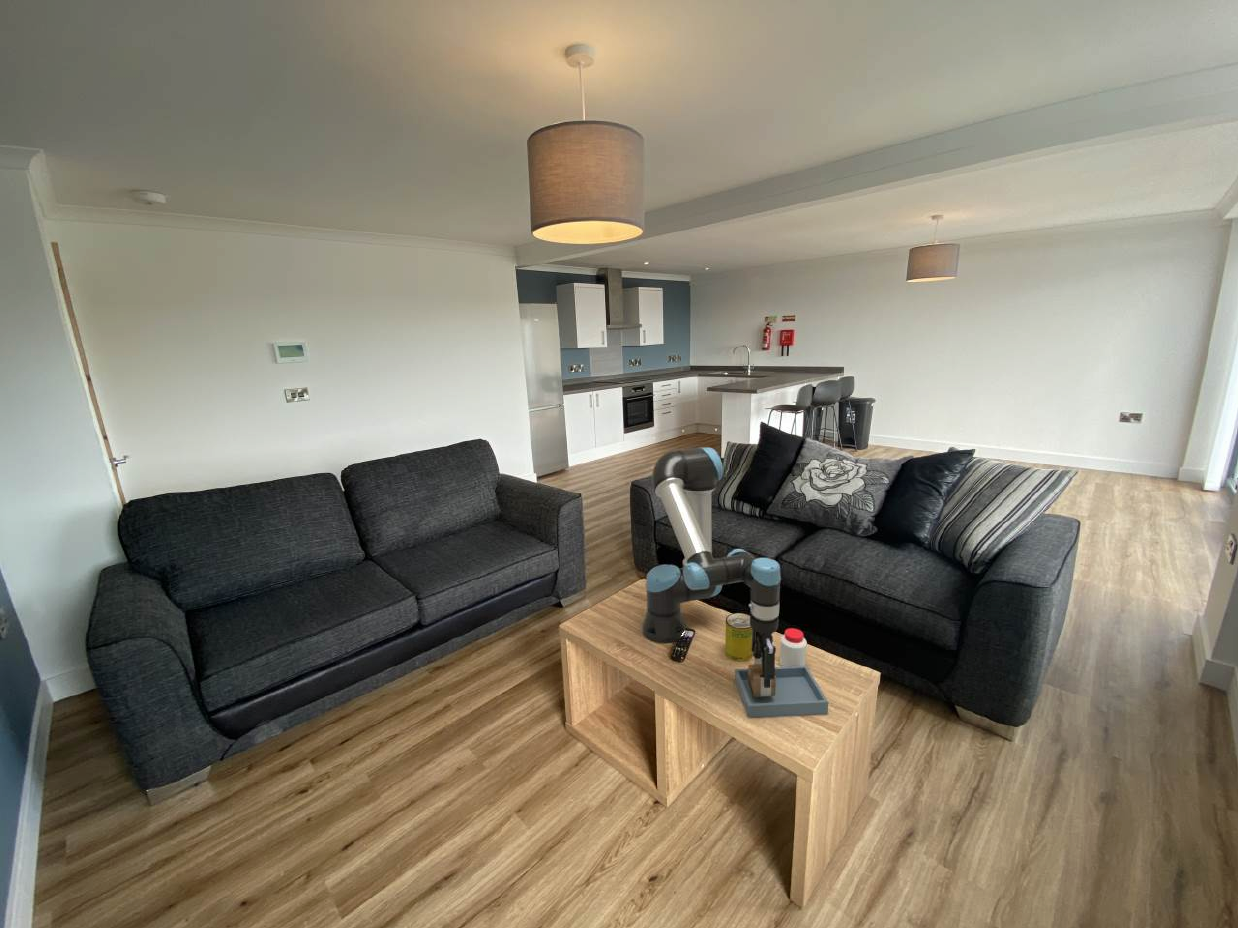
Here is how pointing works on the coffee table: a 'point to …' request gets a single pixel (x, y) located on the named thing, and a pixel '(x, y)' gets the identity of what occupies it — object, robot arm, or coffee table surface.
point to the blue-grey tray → (784, 694)
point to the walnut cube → (758, 680)
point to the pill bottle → (793, 648)
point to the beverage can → (738, 637)
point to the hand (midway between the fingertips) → (761, 686)
